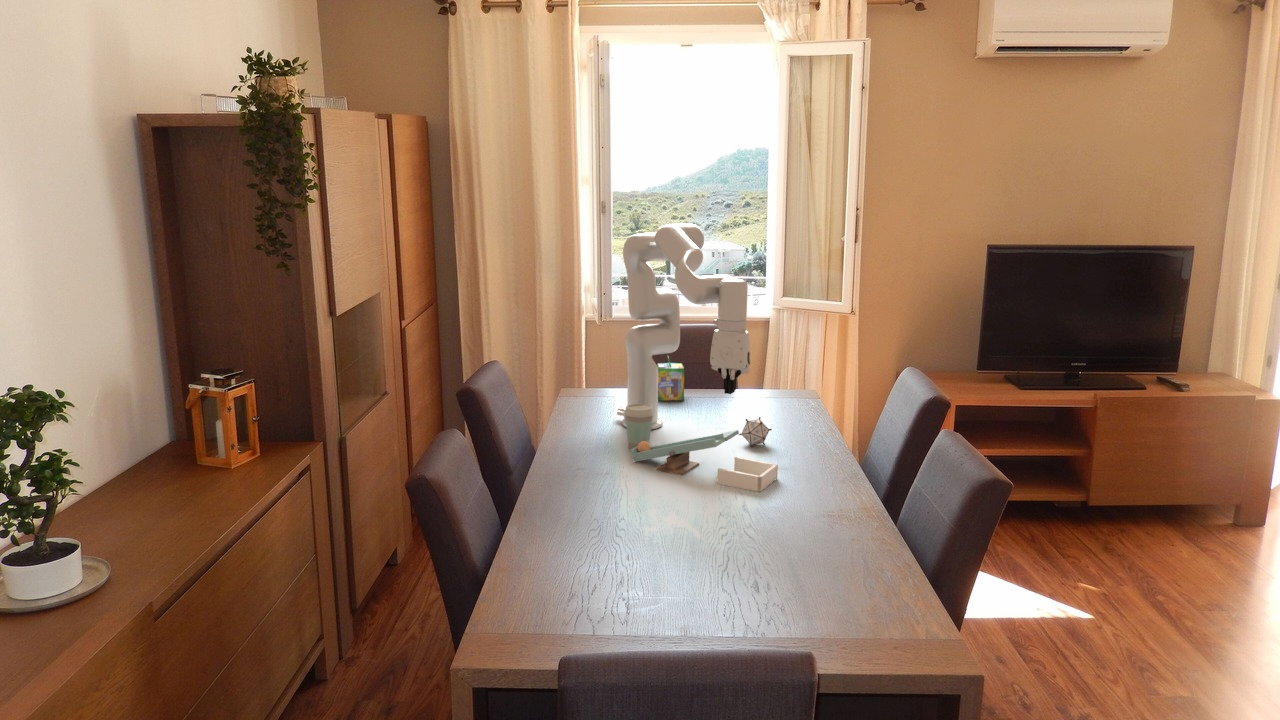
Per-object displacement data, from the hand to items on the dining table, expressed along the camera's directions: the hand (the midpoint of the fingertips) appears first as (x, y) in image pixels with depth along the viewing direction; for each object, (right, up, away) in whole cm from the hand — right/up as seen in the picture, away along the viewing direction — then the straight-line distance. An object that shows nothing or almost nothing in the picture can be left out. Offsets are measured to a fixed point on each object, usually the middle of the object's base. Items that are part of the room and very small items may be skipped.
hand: (729, 392), depth 255 cm
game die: (+10, -16, +23) cm, 30 cm away
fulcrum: (-14, -20, +2) cm, 25 cm away
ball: (-23, -15, +7) cm, 29 cm away
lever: (-12, -15, +4) cm, 20 cm away
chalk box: (-14, -5, +74) cm, 76 cm away
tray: (+4, -23, -7) cm, 24 cm away
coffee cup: (-25, -17, +20) cm, 36 cm away
